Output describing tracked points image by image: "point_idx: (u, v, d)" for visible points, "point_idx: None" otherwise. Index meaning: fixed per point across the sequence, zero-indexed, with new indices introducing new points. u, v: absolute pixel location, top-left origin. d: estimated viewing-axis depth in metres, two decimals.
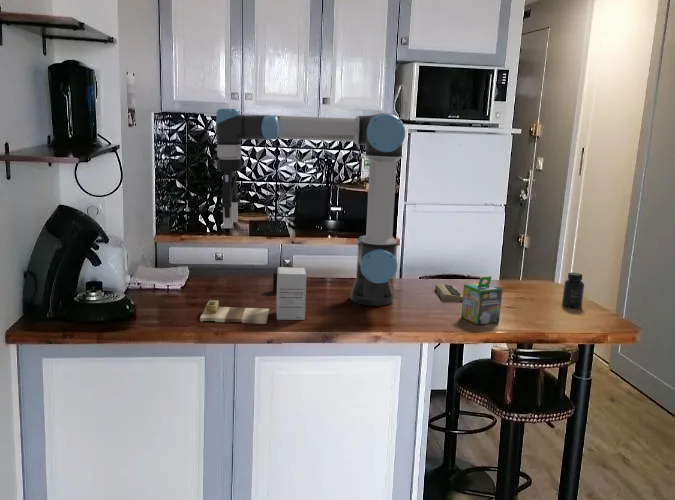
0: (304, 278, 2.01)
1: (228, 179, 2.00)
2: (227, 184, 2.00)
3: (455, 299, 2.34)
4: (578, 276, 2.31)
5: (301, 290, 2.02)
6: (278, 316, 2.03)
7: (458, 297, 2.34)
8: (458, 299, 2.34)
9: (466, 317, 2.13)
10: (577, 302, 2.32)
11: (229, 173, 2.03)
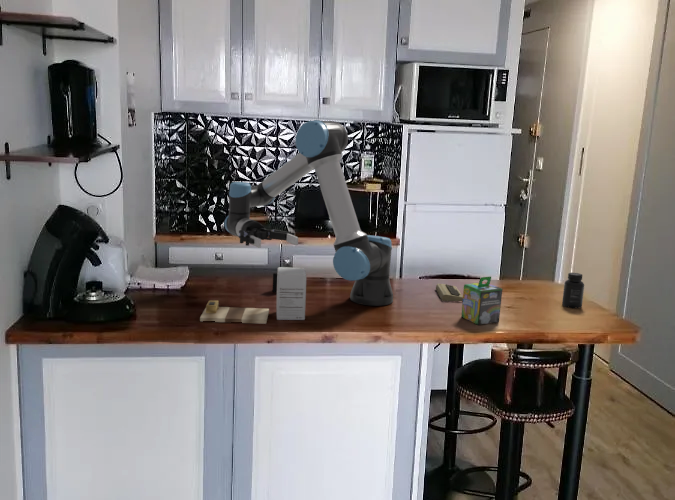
0: (304, 278, 2.01)
1: (239, 233, 2.19)
2: None
3: (454, 299, 2.34)
4: (578, 276, 2.31)
5: (301, 290, 2.02)
6: (278, 316, 2.03)
7: (457, 297, 2.34)
8: (457, 299, 2.34)
9: (466, 317, 2.13)
10: (577, 302, 2.32)
11: (246, 232, 2.23)
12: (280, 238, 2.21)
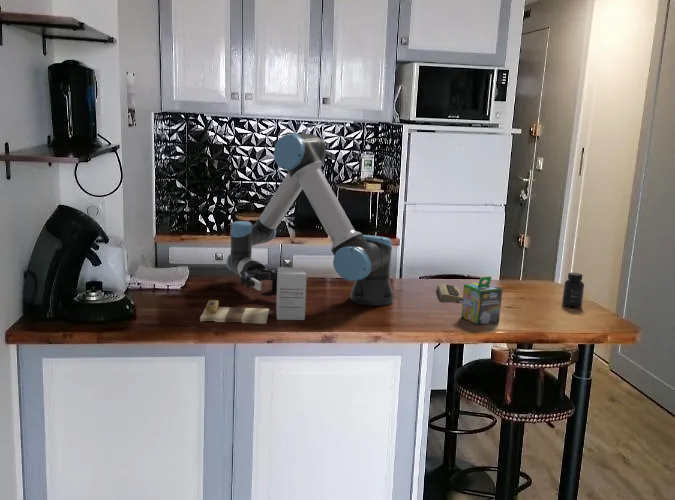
0: (304, 278, 2.01)
1: (240, 274, 2.21)
2: None
3: (452, 299, 2.34)
4: (578, 276, 2.31)
5: (301, 290, 2.02)
6: (278, 316, 2.03)
7: (456, 297, 2.34)
8: (455, 299, 2.34)
9: (466, 317, 2.13)
10: (577, 302, 2.32)
11: (247, 272, 2.24)
12: None
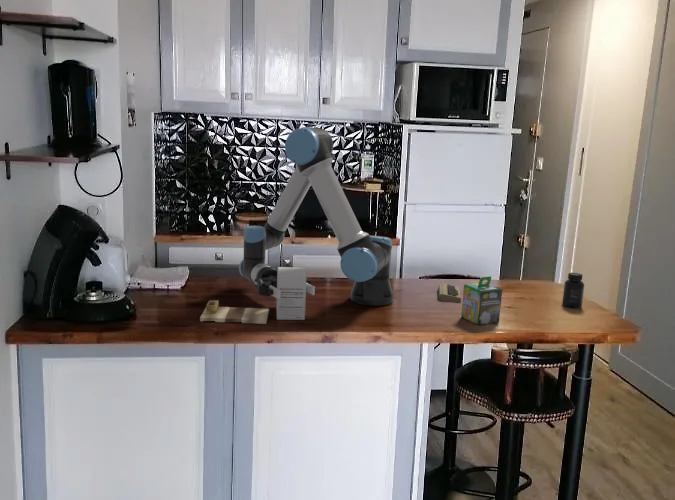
0: (304, 278, 2.01)
1: (255, 281, 2.12)
2: (257, 283, 2.10)
3: (451, 299, 2.34)
4: (578, 276, 2.31)
5: (301, 289, 2.02)
6: (278, 316, 2.03)
7: (454, 297, 2.33)
8: (453, 299, 2.34)
9: (466, 317, 2.13)
10: (577, 302, 2.32)
11: (261, 279, 2.15)
12: None
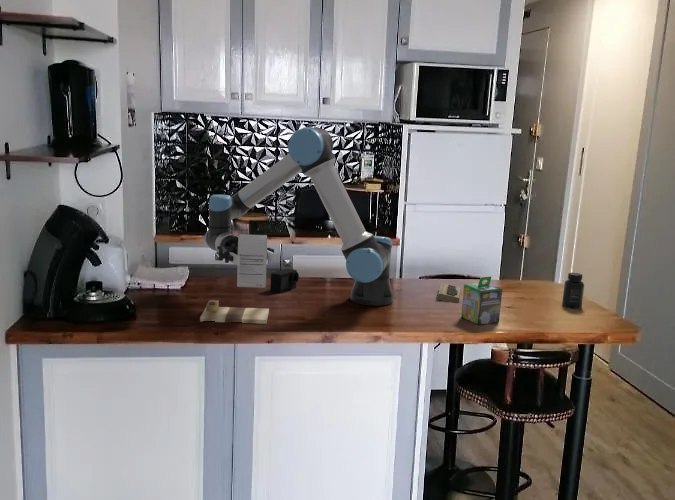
0: (264, 244, 1.97)
1: (217, 249, 2.08)
2: (218, 251, 2.07)
3: (449, 299, 2.34)
4: (578, 276, 2.31)
5: (261, 256, 1.98)
6: (238, 283, 1.99)
7: (452, 297, 2.33)
8: (452, 299, 2.34)
9: (466, 317, 2.13)
10: (577, 302, 2.32)
11: (224, 247, 2.11)
12: None
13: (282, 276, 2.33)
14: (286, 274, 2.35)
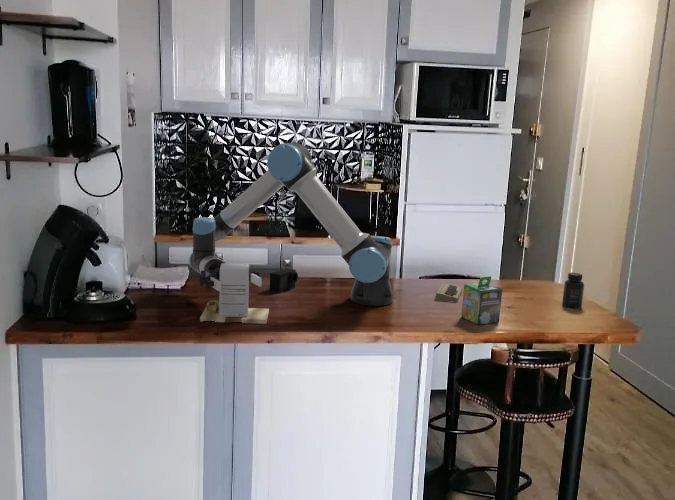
0: (246, 274, 1.97)
1: (201, 273, 2.08)
2: None
3: (447, 299, 2.34)
4: (578, 276, 2.31)
5: (243, 286, 1.98)
6: (220, 313, 1.99)
7: (450, 297, 2.33)
8: (450, 298, 2.34)
9: (466, 317, 2.13)
10: (577, 302, 2.32)
11: (208, 271, 2.11)
12: None
13: (281, 276, 2.33)
14: (285, 274, 2.35)
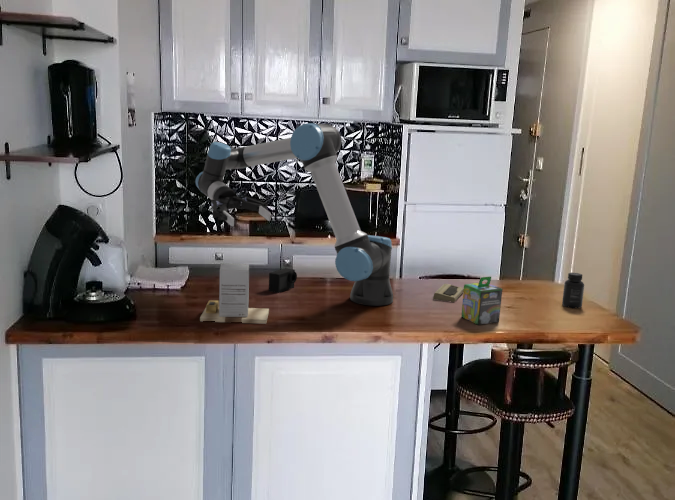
0: (246, 274, 1.97)
1: (212, 203, 2.21)
2: (213, 205, 2.19)
3: (445, 298, 2.34)
4: (578, 276, 2.31)
5: (243, 286, 1.98)
6: (220, 313, 1.99)
7: (448, 297, 2.34)
8: (447, 298, 2.34)
9: (466, 317, 2.13)
10: (577, 302, 2.32)
11: (218, 200, 2.24)
12: (252, 209, 2.24)
13: (280, 276, 2.33)
14: (284, 274, 2.36)
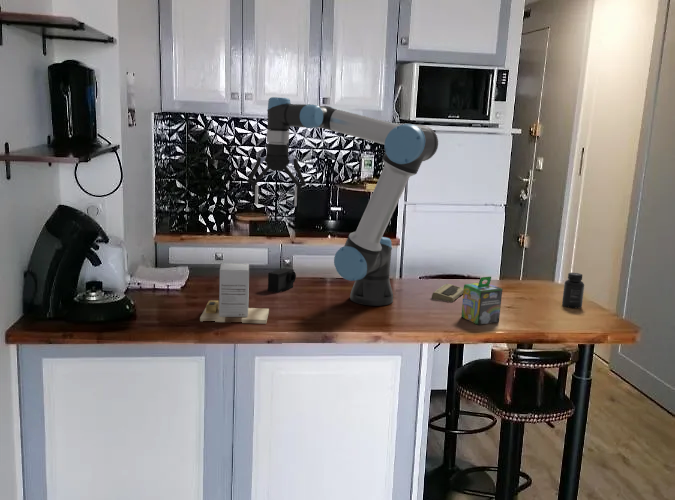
0: (246, 274, 1.97)
1: (257, 160, 2.24)
2: None
3: (443, 298, 2.34)
4: (578, 276, 2.31)
5: (243, 286, 1.98)
6: (220, 313, 1.99)
7: (446, 296, 2.34)
8: (445, 298, 2.34)
9: (466, 317, 2.13)
10: (577, 302, 2.32)
11: (266, 156, 2.24)
12: None
13: (279, 276, 2.34)
14: (283, 274, 2.36)
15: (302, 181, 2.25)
